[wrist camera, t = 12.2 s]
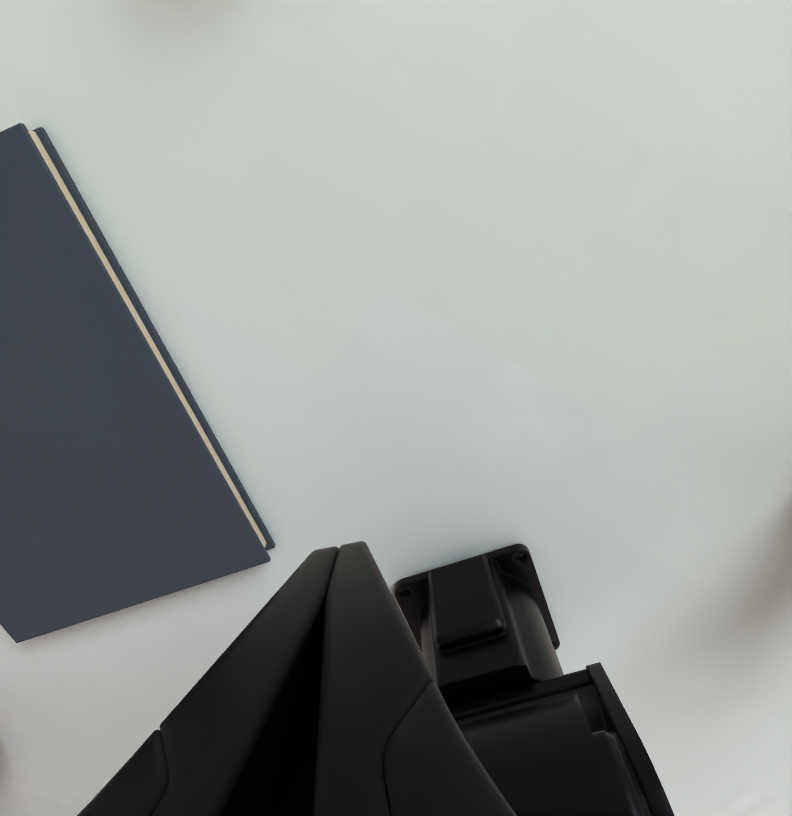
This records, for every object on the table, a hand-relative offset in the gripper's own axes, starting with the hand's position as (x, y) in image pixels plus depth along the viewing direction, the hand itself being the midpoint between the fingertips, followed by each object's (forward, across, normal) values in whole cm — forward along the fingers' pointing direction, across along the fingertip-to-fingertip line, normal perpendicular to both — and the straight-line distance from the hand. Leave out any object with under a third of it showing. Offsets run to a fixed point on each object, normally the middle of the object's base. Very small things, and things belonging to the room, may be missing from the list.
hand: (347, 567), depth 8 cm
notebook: (+13, +14, 0) cm, 19 cm away
